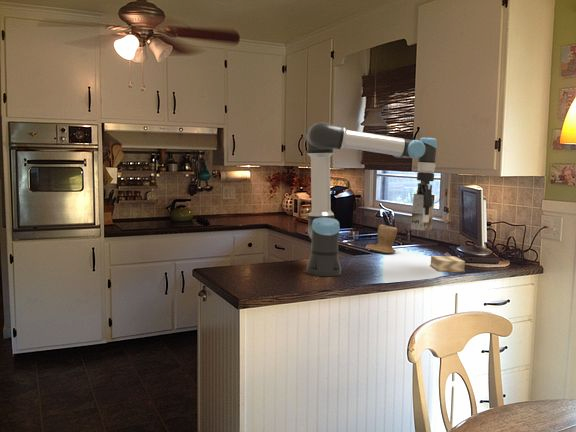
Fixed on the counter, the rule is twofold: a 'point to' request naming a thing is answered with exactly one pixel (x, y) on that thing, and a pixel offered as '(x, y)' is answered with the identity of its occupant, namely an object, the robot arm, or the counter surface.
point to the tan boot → (384, 239)
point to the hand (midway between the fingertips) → (421, 220)
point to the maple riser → (447, 264)
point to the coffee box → (421, 213)
